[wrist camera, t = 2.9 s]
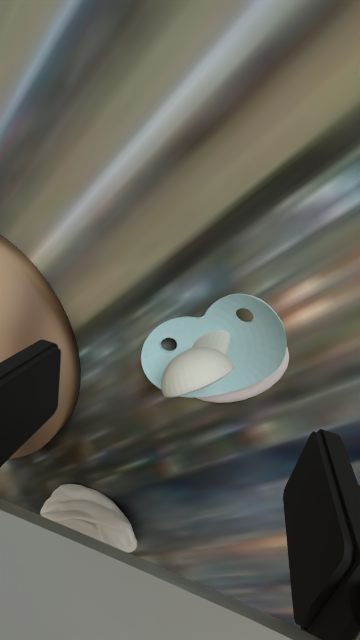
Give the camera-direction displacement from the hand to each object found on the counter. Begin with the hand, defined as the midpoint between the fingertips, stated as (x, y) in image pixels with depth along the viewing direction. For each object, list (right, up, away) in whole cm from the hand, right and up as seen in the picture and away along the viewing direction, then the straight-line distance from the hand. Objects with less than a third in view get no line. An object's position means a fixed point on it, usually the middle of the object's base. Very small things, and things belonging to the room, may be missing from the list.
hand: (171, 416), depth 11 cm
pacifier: (+3, +2, +6) cm, 7 cm away
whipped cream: (-7, -13, +14) cm, 20 cm away
